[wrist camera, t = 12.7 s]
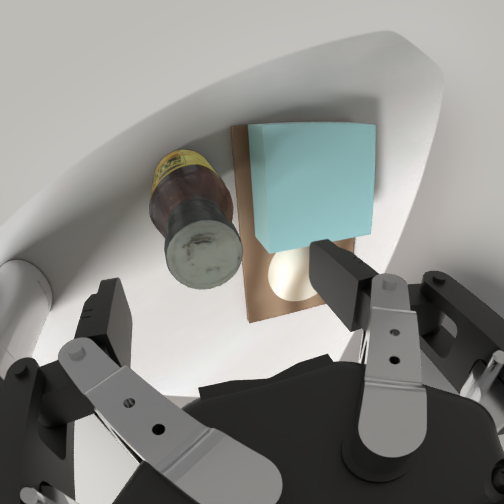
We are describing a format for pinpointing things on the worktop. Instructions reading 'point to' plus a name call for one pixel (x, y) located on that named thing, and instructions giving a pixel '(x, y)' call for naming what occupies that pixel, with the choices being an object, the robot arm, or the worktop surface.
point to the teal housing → (311, 182)
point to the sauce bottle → (195, 220)
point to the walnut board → (260, 261)
